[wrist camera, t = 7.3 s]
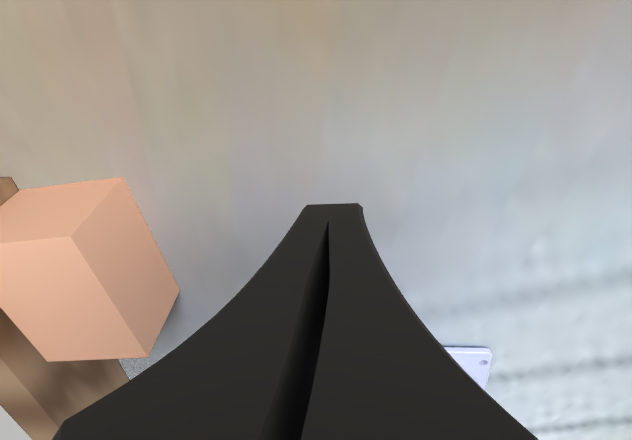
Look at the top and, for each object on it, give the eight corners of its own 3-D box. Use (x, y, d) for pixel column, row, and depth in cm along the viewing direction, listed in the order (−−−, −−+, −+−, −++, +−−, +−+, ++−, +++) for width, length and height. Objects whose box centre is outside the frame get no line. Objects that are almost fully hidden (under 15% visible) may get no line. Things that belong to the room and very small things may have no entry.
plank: (155, 425, 36) (123, 505, 31) (127, 424, 36) (91, 503, 32) (10, 176, 22) (-88, 252, 17) (-33, 178, 23) (-141, 253, 18)
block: (181, 288, 26) (148, 357, 22) (93, 294, 27) (47, 361, 23) (124, 175, 22) (69, 236, 18) (22, 187, 23) (-51, 248, 19)
